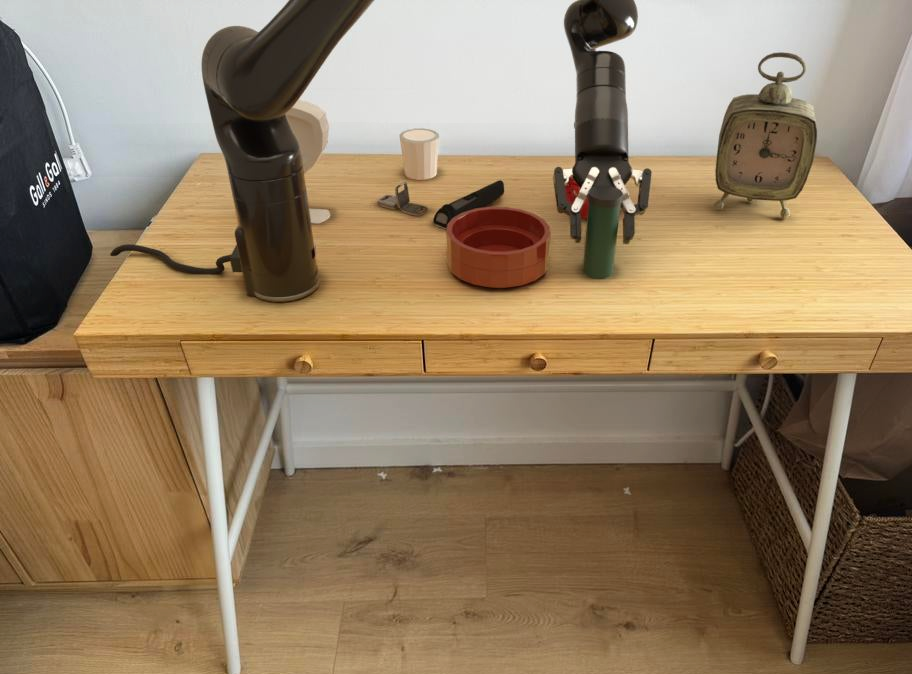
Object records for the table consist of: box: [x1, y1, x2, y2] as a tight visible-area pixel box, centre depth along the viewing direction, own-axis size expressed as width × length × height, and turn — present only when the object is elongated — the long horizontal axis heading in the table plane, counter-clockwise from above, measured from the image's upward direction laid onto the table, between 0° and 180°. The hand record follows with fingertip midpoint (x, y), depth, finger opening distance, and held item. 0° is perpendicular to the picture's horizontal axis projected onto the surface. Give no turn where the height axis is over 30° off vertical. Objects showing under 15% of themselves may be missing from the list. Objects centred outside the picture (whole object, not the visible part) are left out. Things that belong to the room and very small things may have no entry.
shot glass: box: [399, 127, 440, 181], centre depth 142 cm, size 7×7×7 cm
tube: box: [582, 186, 623, 280], centre depth 114 cm, size 5×5×12 cm
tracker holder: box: [565, 177, 622, 219], centre depth 134 cm, size 12×4×10 cm
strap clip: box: [376, 181, 429, 216], centre depth 132 cm, size 8×3×4 cm, turn 62°
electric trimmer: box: [432, 179, 505, 230], centre depth 132 cm, size 4×16×3 cm, turn 142°
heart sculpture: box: [286, 99, 331, 225], centre depth 125 cm, size 16×5×18 cm, turn 85°
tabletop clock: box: [713, 51, 818, 219], centre depth 129 cm, size 14×9×25 cm, turn 76°
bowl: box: [445, 206, 551, 289], centre depth 117 cm, size 15×15×6 cm
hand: (602, 241), depth 113 cm, fingers open, 6 cm apart
